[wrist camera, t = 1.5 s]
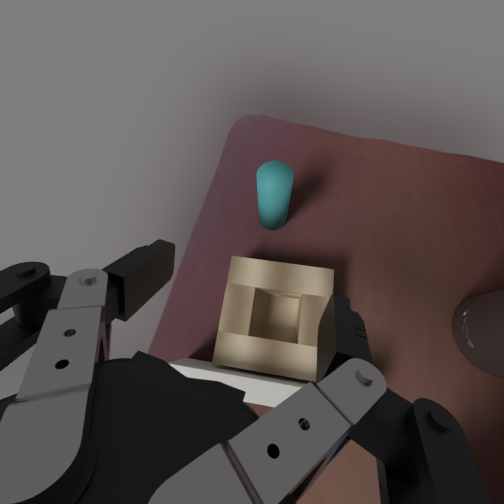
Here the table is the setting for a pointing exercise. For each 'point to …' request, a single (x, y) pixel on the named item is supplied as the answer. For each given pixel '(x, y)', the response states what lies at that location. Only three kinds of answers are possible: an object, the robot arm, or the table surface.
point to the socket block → (272, 317)
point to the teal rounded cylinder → (274, 193)
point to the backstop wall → (243, 380)
